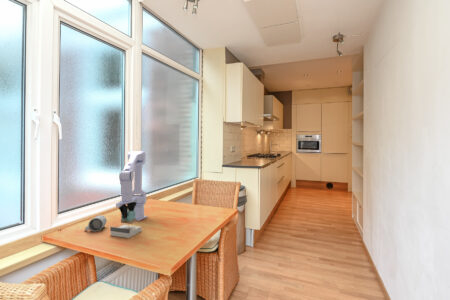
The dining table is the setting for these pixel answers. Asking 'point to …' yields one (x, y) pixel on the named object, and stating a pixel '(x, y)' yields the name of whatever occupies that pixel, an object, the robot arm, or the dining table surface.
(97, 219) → the ceramic mug
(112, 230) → the dock
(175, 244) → the dining table surface
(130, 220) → the teal rectangular block
